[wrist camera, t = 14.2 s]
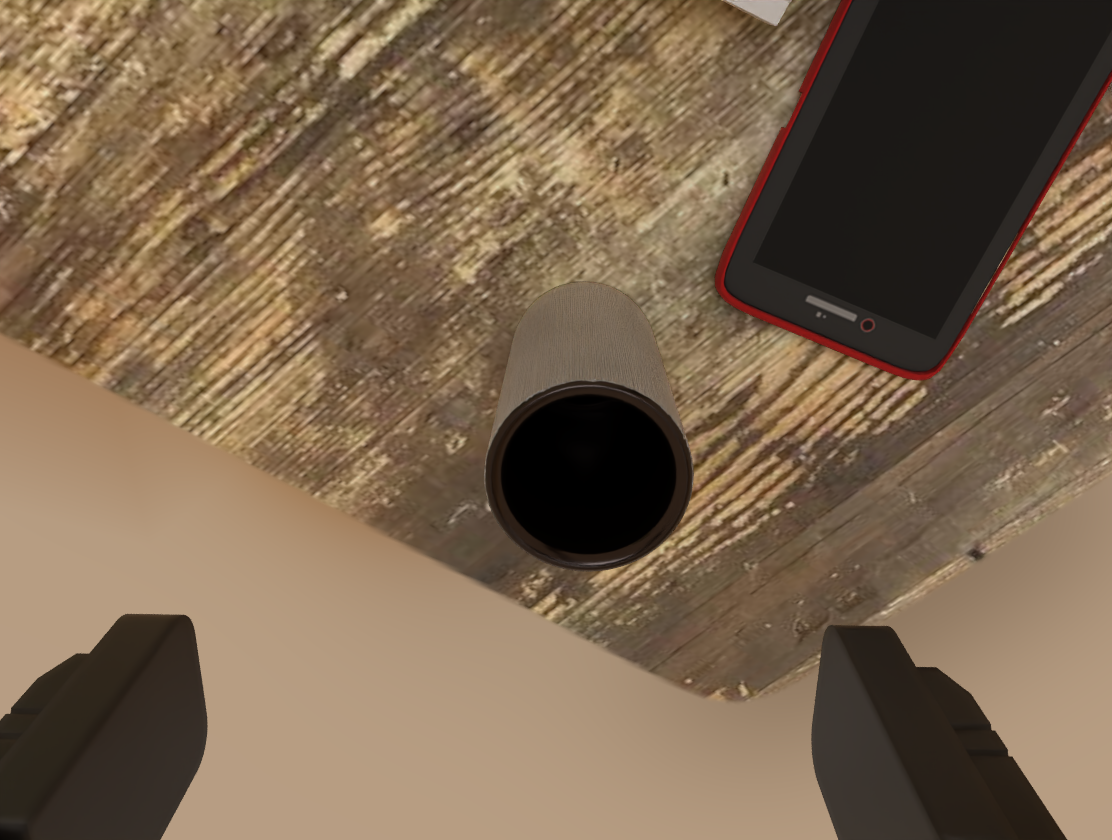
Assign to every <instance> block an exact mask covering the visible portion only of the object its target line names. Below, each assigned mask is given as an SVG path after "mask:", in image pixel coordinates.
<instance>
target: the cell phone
mask: <svg viewBox="0 0 1112 840" xmlns="http://www.w3.org/2000/svg"><path fill="white" fill-rule="evenodd" d="M1111 81H1112V0H841V3H840V5H839V7H838V9H837V11H836V13H835V15H834V17H833V20H832V22H831V24H830V26H829V28H828V30H827V32H826V34H825V36H824V39H823V41H822V43H821V45H820V47H819V49H818V51H817V53H816V55H815V58H814V60H813V62H812V64H811V66H810V68H809V70H808V72H807V75H806V77H805V79H804V81H803V83H802V85H801V87H800V89H799V92H800V93H802V95H801V97H800V99H799V101H798V103H797V105H796V108H795V110H794V112H793V114H792V116H791V118H790V120H789V122H788V125H787V127H786V128H784V127H781V130H780V132H779V134H778V136H777V138H776V140H775V142H774V144H773V147H772V149H771V151H770V153H769V155H768V157H767V159H766V161H765V163H764V166H763V168H762V170H761V172H760V174H759V176H758V178H757V180H756V183H755V185H754V187H753V189H752V191H751V193H750V195H749V197H748V200H747V202H746V204H745V206H744V208H743V210H742V212H741V214H740V217H739V219H738V221H737V223H736V225H735V227H734V229H733V231H732V233H731V236H730V238H729V240H728V242H727V244H726V246H725V248H724V250H723V253H722V256H721V259H720V262H719V265H718V268H717V271H716V274H715V287H716V289H717V291H718V293H719V294H720V296H721V297H722V298H723V299H724V300H725V301H726V302H727V303H729V304H730V305H732V306H733V307H735V308H737V309H739V310H741V311H743V312H745V313H747V314H749V315H752V316H754V317H756V318H759V319H761V320H764V321H766V322H768V323H771V324H773V325H776V326H778V327H780V328H783V329H785V330H788V331H790V332H792V333H795V334H797V335H800V336H802V337H804V338H807V339H809V340H812V341H814V342H817V343H819V344H821V345H824V346H826V347H829V348H831V349H833V350H836V351H838V352H841V353H843V354H845V355H848V356H850V357H853V358H855V359H857V360H860V361H862V362H865V363H867V364H869V365H872V366H874V367H877V368H879V369H881V370H884V371H886V372H889V373H891V374H894V375H897V376H900V377H903V378H907V379H912V380H926V379H930V378H931V377H932V376H934V375H935V374H936V373H938V372H939V371H940V370H941V368H942V367H943V366H944V364H945V363H946V361H947V360H948V359H949V357H950V356H951V354H952V353H953V351H954V350H955V348H956V347H957V345H958V344H959V342H960V341H961V339H962V338H963V336H964V335H965V333H966V331H967V329H968V328H969V326H970V324H971V323H972V321H973V319H974V317H975V316H976V314H977V312H978V311H979V309H980V307H981V305H982V304H983V302H984V300H985V298H986V297H987V295H988V293H989V292H990V290H991V288H992V286H993V285H994V283H995V281H996V280H997V278H998V276H999V274H1000V273H1001V271H1002V269H1003V267H1004V266H1005V264H1006V262H1007V261H1008V259H1009V257H1010V255H1011V254H1012V252H1013V250H1014V249H1015V247H1016V245H1017V243H1018V242H1019V240H1020V238H1021V236H1022V235H1023V233H1024V231H1025V230H1026V228H1027V226H1028V224H1029V223H1030V221H1031V219H1032V218H1033V216H1034V214H1035V212H1036V211H1037V209H1038V207H1039V205H1040V204H1041V202H1042V200H1043V199H1044V197H1045V195H1046V193H1047V192H1048V190H1049V188H1050V187H1051V185H1052V183H1053V181H1054V180H1055V178H1056V176H1057V174H1058V173H1059V171H1060V169H1061V168H1062V166H1063V164H1064V162H1065V161H1066V159H1067V157H1068V156H1069V154H1070V152H1071V150H1072V149H1073V147H1074V145H1075V143H1076V142H1077V140H1078V138H1079V137H1080V135H1081V133H1082V131H1083V130H1084V128H1085V126H1086V125H1087V123H1088V121H1089V119H1090V118H1091V116H1092V114H1093V112H1094V111H1095V109H1096V107H1097V106H1098V104H1099V102H1100V100H1101V99H1102V97H1103V95H1104V94H1105V92H1106V90H1107V88H1108V87H1109V85H1110V83H1111ZM1017 233H1018V235H1017V237H1016V238H1015V236H1016V234H1017ZM1014 238H1015V240H1014ZM1013 240H1014V242H1013V244H1012V245H1011V243H1012V241H1013ZM1010 245H1011V247H1010ZM1009 247H1010V249H1009V250H1008V248H1009ZM1007 250H1008V252H1007ZM1006 252H1007V254H1006V256H1005V257H1004V255H1005V253H1006ZM1003 257H1004V259H1003ZM1002 259H1003V261H1002V263H1001V264H1000V262H1001V260H1002ZM999 264H1000V266H999ZM998 266H999V268H998V269H997V267H998ZM996 269H997V271H996ZM995 271H996V273H995V275H994V276H993V274H994V272H995ZM992 276H993V278H992ZM991 278H992V280H991V281H990V279H991ZM989 281H990V283H989ZM988 283H989V285H988ZM987 285H988V287H987V288H986V286H987ZM985 288H986V290H985ZM984 290H985V292H984V294H983V295H982V293H983V291H984ZM981 295H982V297H981ZM980 297H981V299H980V300H979V298H980ZM978 300H979V302H978ZM977 302H978V304H977ZM976 304H977V306H976V307H975V305H976ZM974 307H975V309H974ZM973 309H974V311H973V313H972V314H971V312H972V310H973Z"/></svg>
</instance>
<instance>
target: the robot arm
mask: <svg viewBox="0 0 1112 840" xmlns="http://www.w3.org/2000/svg"><path fill="white" fill-rule="evenodd" d="M206 737H207V713H206V706H205V698H204V691H203V685H202V678H201V671H200V664H199V657H198V650H197V643H196V636H195V630H194V626H193V623H192V621H191V619H190V618H189V617H188V616H186V615H161V614H160V615H159V614H125V615H123V616H121V617H120V618H119V619H118V620H117V621H116V622H115V624H114V625H113V626H112V627H111V629H110V630H109V631H108V632H107V633H106V634H105V635H104V637H103V638H102V639H101V640H100V642H99V643H98V644H97V645H96V646H95V647H94V649H93V650H92V651H91V652H90V653H89V654H75V655H73V656H72V657H71V658H69V659H67V660H66V661H64V662H63V663H61V664H60V665H58V666H56V667H55V668H53V669H52V670H50V671H49V672H47V673H45V674H44V675H42V676H41V677H39V678H38V679H37V680H36V681H35V682H34V683H33V684H32V685H31V686H30V687H29V689H28V690H27V691H26V692H25V693H24V694H23V695H22V696H21V698H20V699H19V700H18V701H17V702H16V703H15V704H14V706H13V707H12V708H11V713H10V714H5V716H4V717H3V718H2V719H1V720H0V840H160V839H161V837H162V836H163V834H164V832H165V830H166V828H167V826H168V824H169V823H170V821H171V819H172V817H173V815H174V813H175V812H176V810H177V808H178V806H179V804H180V802H181V800H182V799H183V797H184V795H185V793H186V791H187V789H188V787H189V785H190V783H191V782H192V780H193V778H194V776H195V774H196V772H197V770H198V768H199V766H200V763H201V761H202V757H203V754H204V750H205V745H206ZM812 755H813V764H814V769H815V773H816V778H817V781H818V784H819V787H820V789H821V792H822V795H823V798H824V801H825V803H826V806H827V809H828V812H829V814H830V817H831V820H832V823H833V826H834V829H835V831H836V834H837V837H838V840H1067V839H1066V837H1065V836H1064V834H1063V833H1062V831H1061V830H1060V828H1059V827H1058V825H1057V824H1056V822H1055V821H1054V819H1053V818H1052V816H1051V815H1050V813H1049V811H1048V810H1047V809H1046V807H1045V805H1044V804H1043V802H1042V801H1041V799H1040V798H1039V796H1038V795H1037V793H1036V792H1035V790H1034V789H1033V787H1032V786H1031V784H1030V783H1029V781H1028V780H1027V778H1026V777H1025V775H1024V774H1023V772H1022V771H1021V769H1020V768H1019V766H1018V765H1017V763H1016V762H1015V760H1014V759H1013V757H1009V756H1008V749H1007V748H1006V747H1005V745H1004V743H1003V742H1002V740H1001V739H1000V737H999V736H998V734H997V733H996V731H992V730H991V724H990V722H989V721H988V719H987V718H986V716H985V715H984V713H983V712H982V710H981V709H980V707H979V706H978V704H977V703H976V701H975V700H974V698H973V696H972V695H971V694H970V693H969V692H968V691H966V690H965V689H964V688H962V687H961V686H960V685H959V684H957V683H956V682H955V681H953V680H952V679H951V678H950V677H948V676H947V675H946V674H944V673H943V672H942V671H940V670H939V669H938V668H936V667H916V666H915V664H914V663H913V661H912V659H911V658H910V656H909V654H908V653H907V651H906V649H905V648H904V646H903V644H902V643H901V641H900V639H899V638H898V636H897V634H896V633H895V631H894V630H893V629H892V628H891V627H889V626H842V625H831V626H828V627H827V629H826V631H825V634H824V637H823V643H822V650H821V658H820V666H819V674H818V682H817V690H816V699H815V706H814V714H813V723H812Z"/></svg>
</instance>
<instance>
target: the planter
mask: <svg viewBox="0 0 1112 840" xmlns="http://www.w3.org/2000/svg"><path fill="white" fill-rule="evenodd" d="M693 477H694V473H693V461H692V456H691V451H690V448H689V444H688V441H687V438H686V434H685V431H684V428H683V425H682V422H681V419H680V415H679V412H678V409H677V406H676V403H675V400H674V397H673V393H672V390H671V387H670V384H669V381H668V378H667V375H666V371H665V368H664V365H663V362H662V359H661V356H660V353H659V349H658V346H657V343H656V340H655V337H654V334H653V331H652V328H651V326H650V324H649V322H648V320H647V318H646V317H645V315H644V313H643V312H642V311H641V309H640V308H639V307H638V305H637V304H636V303H635V302H634V301H633V300H632V299H630V298H629V297H628V296H627V295H625V294H624V293H622V292H621V291H619V290H617V289H615V288H613V287H610V286H607V285H604V284H600V283H595V282H573V283H568V284H564V285H561V286H558V287H556V288H553V289H551V290H549V291H548V292H546V293H544V294H543V295H542V296H540V297H539V298H538V299H536V300H535V301H534V302H533V303H532V304H531V305H530V307H529V308H528V309H527V310H526V312H525V313H524V315H523V316H522V318H521V320H520V322H519V324H518V326H517V329H516V331H515V334H514V337H513V342H512V346H511V350H510V355H509V359H508V363H507V367H506V372H505V376H504V380H503V385H502V389H501V393H500V398H499V402H498V406H497V410H496V415H495V419H494V423H493V428H492V432H491V436H490V440H489V445H488V449H487V454H486V459H485V466H484V484H485V491H486V496H487V500H488V503H489V506H490V508H491V511H492V513H493V515H494V517H495V519H496V521H497V522H498V524H499V526H500V527H501V528H502V530H503V531H504V532H505V534H506V535H507V536H508V537H509V538H510V539H511V540H512V541H513V542H514V543H515V544H516V545H517V546H518V547H520V548H521V549H522V550H524V551H525V552H526V553H528V554H529V555H531V556H533V557H534V558H536V559H538V560H540V561H542V562H545V563H547V564H550V565H552V566H556V567H559V568H563V569H568V570H575V571H602V570H609V569H613V568H617V567H621V566H624V565H627V564H630V563H632V562H634V561H637V560H639V559H640V558H642V557H644V556H646V555H647V554H649V553H651V552H652V551H653V550H655V549H656V548H657V547H659V546H660V545H661V544H662V543H663V542H664V541H665V540H666V539H667V538H668V537H669V536H670V535H671V534H672V532H673V531H674V530H675V528H676V527H677V526H678V524H679V523H680V521H681V519H682V517H683V516H684V514H685V512H686V509H687V507H688V504H689V501H690V498H691V493H692V488H693Z"/></svg>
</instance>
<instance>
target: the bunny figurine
mask: <svg viewBox="0 0 1112 840" xmlns="http://www.w3.org/2000/svg"><path fill="white" fill-rule="evenodd" d="M722 1H724V2H726V3H728V4H730V5H732V6H734V7H736V8H738V9H739V10H741V11H743V12H745V13H747V14H749V15H751V16H753V17H755V18H757V19H759V20H761V21H763V22H765V23H767V24H769V25H773V26H777V24H778V23H779V21H780V19H781V17H782V16H783V14H784V12H785V10H786V8H787V7H788V5H789V3H790V2H791V1H792V0H722Z"/></svg>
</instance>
